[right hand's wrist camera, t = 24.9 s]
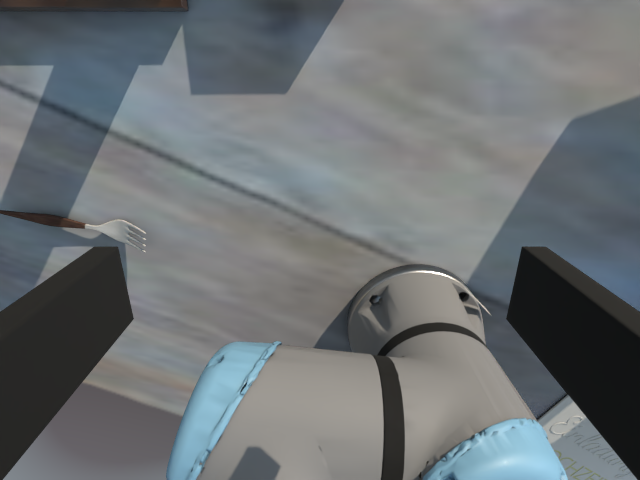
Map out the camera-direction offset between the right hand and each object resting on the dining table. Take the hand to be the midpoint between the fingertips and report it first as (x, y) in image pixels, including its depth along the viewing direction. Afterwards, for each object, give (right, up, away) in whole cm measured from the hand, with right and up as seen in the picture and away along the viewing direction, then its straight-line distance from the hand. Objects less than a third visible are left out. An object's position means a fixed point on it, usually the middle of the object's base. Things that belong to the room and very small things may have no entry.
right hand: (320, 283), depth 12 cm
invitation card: (+37, -30, +41) cm, 62 cm away
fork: (-26, +3, +27) cm, 38 cm away
